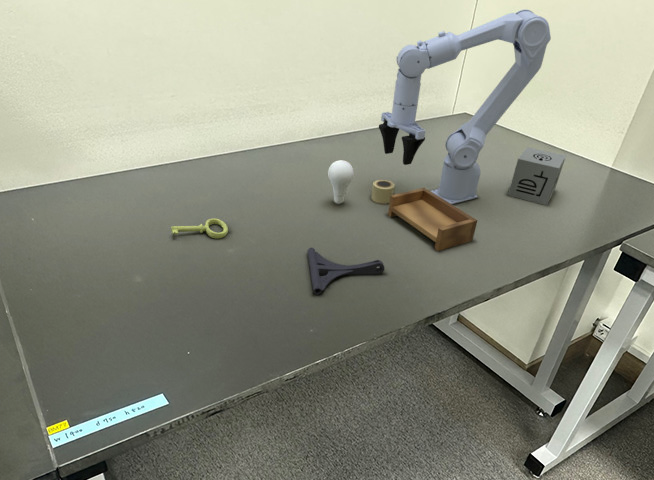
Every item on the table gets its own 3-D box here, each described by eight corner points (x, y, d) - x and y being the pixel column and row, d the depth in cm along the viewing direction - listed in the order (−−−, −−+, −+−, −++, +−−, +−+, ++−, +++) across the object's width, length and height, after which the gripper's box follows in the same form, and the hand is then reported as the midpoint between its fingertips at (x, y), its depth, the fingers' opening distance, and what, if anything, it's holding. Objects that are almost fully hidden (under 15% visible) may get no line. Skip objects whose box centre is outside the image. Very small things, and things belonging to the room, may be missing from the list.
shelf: (420, 206, 132) (424, 187, 129) (472, 240, 120) (477, 220, 117) (387, 215, 128) (390, 195, 125) (437, 251, 115) (442, 230, 112)
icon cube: (546, 205, 136) (559, 168, 130) (507, 195, 140) (518, 158, 134) (554, 191, 143) (566, 155, 137) (516, 182, 147) (527, 147, 141)
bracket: (390, 293, 102) (392, 281, 100) (313, 295, 100) (313, 283, 99) (376, 254, 113) (378, 242, 112) (307, 254, 112) (307, 243, 110)
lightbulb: (348, 210, 129) (352, 167, 122) (324, 207, 130) (326, 164, 123) (352, 199, 133) (356, 157, 127) (328, 196, 134) (331, 154, 128)
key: (168, 235, 116) (167, 226, 114) (219, 221, 122) (219, 212, 120) (182, 249, 111) (181, 241, 110) (234, 234, 117) (234, 226, 116)
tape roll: (384, 192, 138) (386, 177, 135) (396, 201, 134) (399, 186, 132) (367, 196, 135) (368, 181, 133) (379, 205, 132) (381, 190, 129)
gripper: (373, 95, 127) (368, 150, 135) (411, 113, 117) (402, 171, 125) (397, 92, 130) (390, 146, 138) (435, 110, 120) (425, 166, 128)
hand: (397, 158), depth 132 cm, fingers open, 7 cm apart
